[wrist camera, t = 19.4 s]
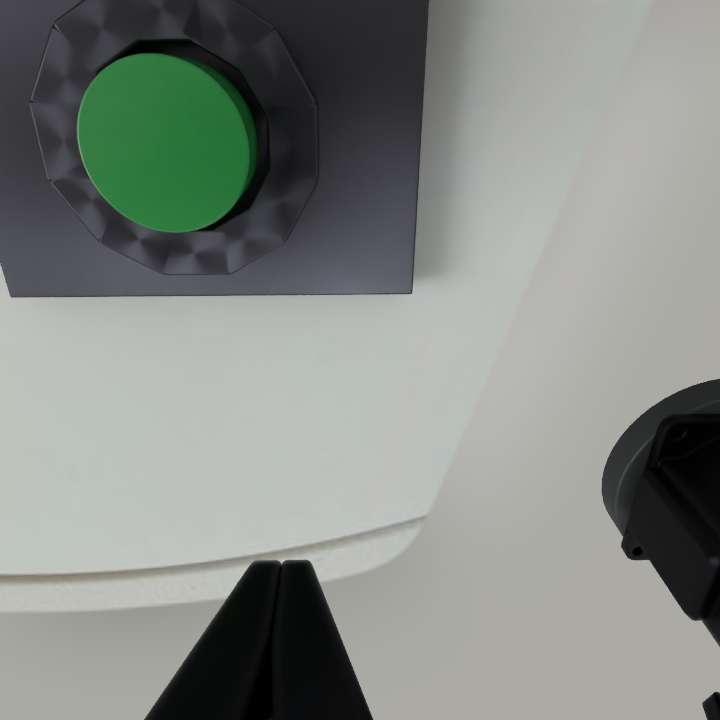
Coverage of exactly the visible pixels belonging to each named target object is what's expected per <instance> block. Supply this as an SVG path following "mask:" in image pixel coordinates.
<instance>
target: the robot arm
mask: <svg viewBox="0 0 720 720" xmlns="http://www.w3.org/2000/svg"><path fill="white" fill-rule="evenodd" d="M675 428H678V429H677V430H676V431H674V432H672V431H673V430H674V429H675ZM621 548H622V549H623V551H624V552H625V554H626V556H627V557H628V558H629V559H631V560H650V562H651V563H652V565H653V566H654V568H655V569H656V571H657V572H658V574H659V575H660V577H661V578H662V580H663V581H664V583H665V584H666V586H667V587H668V589H669V590H670V592H671V593H672V595H673V596H674V598H675V599H676V601H677V602H678V604H679V605H680V607H681V608H682V610H683V611H684V613H685V614H686V615H687V616H688V617H689V618H691V620H695V621H697V620H702V622H703V623H704V624H705V626H706V627H707V629H708V630H709V632H710V633H711V635H712V636H713V638H714V639H715V640H716V642H717V643H718V645H719V646H720V414H675V415H670V416H668V417H666V418H664V419H663V420H662V421H661V422H660V423H659V425H658V427H657V431H656V434H655V437H654V440H653V443H652V447H651V450H650V453H649V456H648V460H647V463H646V466H645V469H644V472H643V475H642V476H641V479H640V483H639V486H638V489H637V492H636V495H635V499H634V502H633V505H632V508H631V512H630V515H629V518H628V521H627V527H626V530H625V533H624V537H623V540H622V543H621ZM703 708H704V711H705V714H706V717H707V720H720V693H719V692H714V693H713V694H712V695H711V696H710V697H709V698H707V699H706V700H705V701H704V702H703ZM144 720H373V718H372V716H371V713H370V711H369V708H368V705H367V703H366V700H365V698H364V695H363V693H362V690H361V687H360V685H359V682H358V680H357V677H356V675H355V672H354V670H353V667H352V665H351V662H350V660H349V657H348V655H347V652H346V650H345V647H344V645H343V642H342V640H341V637H340V634H339V632H338V629H337V627H336V624H335V622H334V619H333V616H332V614H331V612H330V609H329V606H328V604H327V601H326V599H325V596H324V594H323V591H322V589H321V586H320V584H319V581H318V578H317V576H316V573H315V571H314V568H313V566H312V564H311V562H310V561H308V560H286V561H284V562H283V563H282V564H281V562H279V561H277V560H260V561H254V562H253V563H252V564H251V565H250V566H249V567H248V569H247V570H246V572H245V573H244V575H243V576H242V578H241V579H240V580H239V582H238V583H237V585H236V586H235V588H234V589H233V591H232V592H231V594H230V595H229V596H228V598H227V599H226V601H225V602H224V604H223V605H222V607H221V608H220V610H219V611H218V613H217V614H216V615H215V617H214V618H213V620H212V621H211V623H210V624H209V626H208V627H207V629H206V630H205V632H204V633H203V634H202V636H201V637H200V639H199V640H198V642H197V643H196V645H195V646H194V648H193V649H192V651H191V652H190V653H189V655H188V657H187V658H186V659H185V661H184V662H183V664H182V665H181V667H180V668H179V670H178V671H177V672H176V674H175V676H174V677H173V678H172V680H171V681H170V683H169V684H168V686H167V687H166V688H165V690H164V691H163V693H162V694H161V696H160V697H159V699H158V700H157V702H156V703H155V705H154V706H153V707H152V709H151V710H150V712H149V714H148V715H147V716H146V718H145V719H144Z"/></svg>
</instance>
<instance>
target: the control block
mask: <svg viewBox="0 0 720 720" xmlns="http://www.w3.org/2000/svg"><path fill="white" fill-rule="evenodd" d="M428 7H429V0H0V263H1V266H2V270H3V273H4V276H5V280H6V283H7V286H8V290H9V293H10V296H11V297H112V296H232V295H353V294H412V288H413V270H414V253H415V235H416V218H417V200H418V183H419V165H420V148H421V130H422V112H423V95H424V77H425V60H426V42H427V25H428ZM140 53H159V54H167V55H174V56H181V57H186V58H190V59H194V60H196V61H199V62H202V63H204V64H206V65H208V66H210V67H212V68H213V69H215V70H216V71H218V72H219V73H220V74H222V75H223V76H224V77H225V78H226V79H227V80H229V81H230V82H231V83H232V84H233V86H234V87H235V88H236V89H237V90H238V91H239V93H240V94H241V96H242V97H243V99H244V100H245V102H246V104H247V106H248V108H249V109H250V112H251V114H252V117H253V119H254V123H255V126H256V130H257V137H258V159H257V164H256V168H255V172H254V175H253V177H252V180H251V182H250V183H249V185H248V187H247V189H246V190H245V191H244V193H243V194H242V195H241V197H240V198H239V199H238V201H237V202H236V203H235V205H234V206H233V207H232V208H231V210H230V211H229V212H228V213H227V214H226V215H224V216H223V217H222V218H221V219H219V220H218V221H216V222H215V223H213V224H211V225H209V226H207V227H205V228H202V229H199V230H195V231H191V232H183V233H171V232H162V231H157V230H153V229H150V228H147V227H144V226H142V225H140V224H137V223H135V222H133V221H132V220H130V219H128V218H127V217H125V216H124V215H122V214H121V213H120V212H118V211H117V210H116V209H115V208H113V207H112V206H111V205H110V204H109V203H108V202H107V201H106V200H105V199H104V197H103V196H102V195H101V194H100V193H99V192H98V190H97V189H96V187H95V186H94V184H93V183H92V181H91V179H90V177H89V176H88V174H87V172H86V169H85V167H84V165H83V162H82V159H81V155H80V152H79V147H78V141H77V118H78V111H79V107H80V103H81V101H82V98H83V96H84V93H85V91H86V90H87V88H88V86H89V85H90V83H91V81H92V80H93V79H94V78H95V77H96V76H97V74H98V73H99V72H101V71H102V70H103V69H104V68H105V67H107V66H108V65H110V64H111V63H113V62H115V61H116V60H119V59H121V58H124V57H126V56H130V55H135V54H140Z"/></svg>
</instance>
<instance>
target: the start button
mask: <svg viewBox="0 0 720 720" xmlns="http://www.w3.org/2000/svg"><path fill="white" fill-rule="evenodd" d="M77 141H78V147H79V152H80V155H81V159H82V162H83V165H84V167H85V169H86V172H87V174H88V176H89V177H90V179H91V181H92V183H93V184H94V186H95V187H96V189H97V190H98V192H99V193H100V194H101V195H102V196H103V197H104V199H105V200H106V201H107V202H108V203H109V204H110V205H111V206H112V207H113V208H115V209H116V210H117V211H118V212H120V213H121V214H122V215H124V216H125V217H127V218H128V219H130V220H132V221H133V222H135V223H137V224H140V225H142V226H144V227H147V228H150V229H153V230H157V231H162V232H171V233H183V232H191V231H195V230H199V229H202V228H205V227H207V226H209V225H211V224H213V223H215V222H216V221H218V220H219V219H221V218H222V217H223V216H224V215H226V214H227V213H228V212H229V211H230V210H231V208H232V207H233V206H234V205H235V203H236V202H237V201H238V199H239V198H240V197H241V195H242V194H243V193H244V191H245V190H246V189H247V187H248V185H249V183H250V182H251V180H252V177H253V175H254V172H255V168H256V164H257V159H258V137H257V130H256V126H255V123H254V119H253V117H252V114H251V112H250V109H249V108H248V106H247V104H246V102H245V100H244V99H243V97H242V96H241V94H240V93H239V91H238V90H237V89H236V88H235V87H234V86H233V84H232V83H231V82H230V81H229V80H227V79H226V78H225V77H224V76H223V75H222V74H220V73H219V72H218V71H216V70H215V69H213V68H212V67H210V66H208V65H206V64H204V63H202V62H199V61H196V60H194V59H190V58H186V57H181V56H174V55H167V54H159V53H140V54H135V55H130V56H126V57H124V58H121V59H119V60H116V61H115V62H113V63H111V64H110V65H108V66H107V67H105V68H104V69H103V70H102V71H101V72H99V73H98V74H97V76H96V77H95V78H94V79H93V80H92V81H91V83H90V85H89V86H88V88H87V90H86V91H85V93H84V96H83V98H82V101H81V103H80V107H79V111H78V118H77Z"/></svg>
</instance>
